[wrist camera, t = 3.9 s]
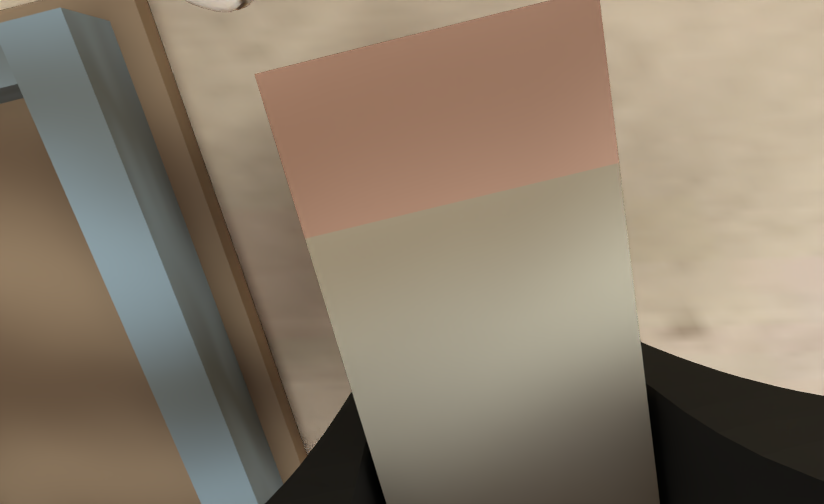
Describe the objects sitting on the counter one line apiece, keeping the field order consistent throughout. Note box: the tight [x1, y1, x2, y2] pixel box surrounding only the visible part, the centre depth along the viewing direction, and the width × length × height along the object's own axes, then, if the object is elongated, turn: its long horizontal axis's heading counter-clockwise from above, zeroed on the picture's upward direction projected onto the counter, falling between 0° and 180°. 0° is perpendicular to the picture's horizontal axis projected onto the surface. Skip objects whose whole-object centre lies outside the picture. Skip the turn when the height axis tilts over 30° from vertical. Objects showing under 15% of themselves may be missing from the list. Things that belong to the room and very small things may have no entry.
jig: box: [0, 0, 307, 504], centre depth 15 cm, size 21×12×3 cm, turn 13°
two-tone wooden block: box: [255, 0, 660, 504], centre depth 10 cm, size 14×4×5 cm, turn 13°
